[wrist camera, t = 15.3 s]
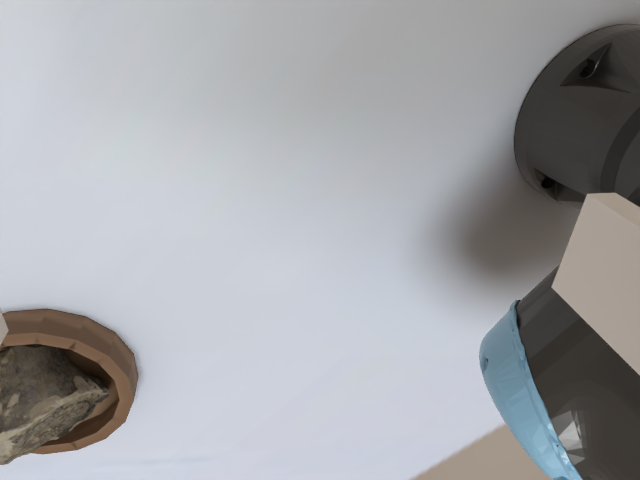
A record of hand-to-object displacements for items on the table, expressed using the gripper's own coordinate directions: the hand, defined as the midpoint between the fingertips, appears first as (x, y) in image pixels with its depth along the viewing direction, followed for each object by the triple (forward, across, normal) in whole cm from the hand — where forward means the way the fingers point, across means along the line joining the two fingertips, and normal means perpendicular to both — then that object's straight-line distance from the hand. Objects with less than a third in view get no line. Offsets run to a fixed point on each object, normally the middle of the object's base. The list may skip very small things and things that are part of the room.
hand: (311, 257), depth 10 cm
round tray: (+27, +19, +29) cm, 44 cm away
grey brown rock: (+26, +19, +30) cm, 44 cm away
